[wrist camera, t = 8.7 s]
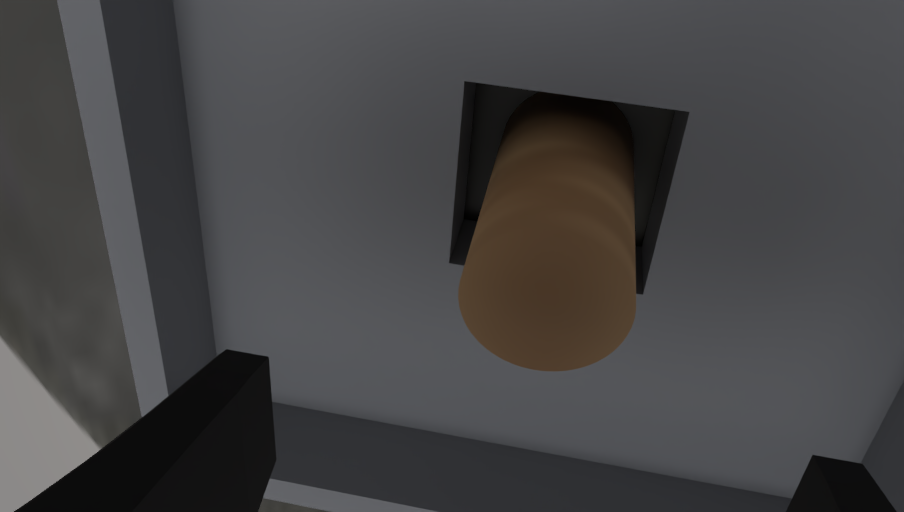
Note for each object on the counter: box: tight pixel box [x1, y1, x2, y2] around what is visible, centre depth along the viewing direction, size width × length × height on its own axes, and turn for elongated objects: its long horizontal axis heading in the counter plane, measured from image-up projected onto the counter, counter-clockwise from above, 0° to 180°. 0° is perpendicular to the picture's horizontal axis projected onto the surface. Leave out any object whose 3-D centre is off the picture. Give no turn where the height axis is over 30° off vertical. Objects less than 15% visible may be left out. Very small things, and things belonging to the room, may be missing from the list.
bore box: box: [57, 0, 904, 512], centre depth 17 cm, size 18×17×4 cm
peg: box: [458, 92, 636, 372], centre depth 16 cm, size 3×3×6 cm
